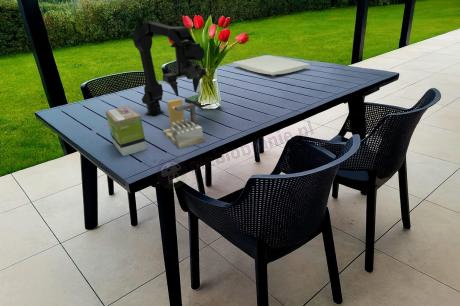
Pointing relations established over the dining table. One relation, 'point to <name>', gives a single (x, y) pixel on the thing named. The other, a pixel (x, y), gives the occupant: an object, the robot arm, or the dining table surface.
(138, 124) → the tea box
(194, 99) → the disk drive
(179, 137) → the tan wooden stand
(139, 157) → the dining table surface
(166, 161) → the dining table surface
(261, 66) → the board
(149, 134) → the dining table surface
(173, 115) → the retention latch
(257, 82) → the dining table surface
